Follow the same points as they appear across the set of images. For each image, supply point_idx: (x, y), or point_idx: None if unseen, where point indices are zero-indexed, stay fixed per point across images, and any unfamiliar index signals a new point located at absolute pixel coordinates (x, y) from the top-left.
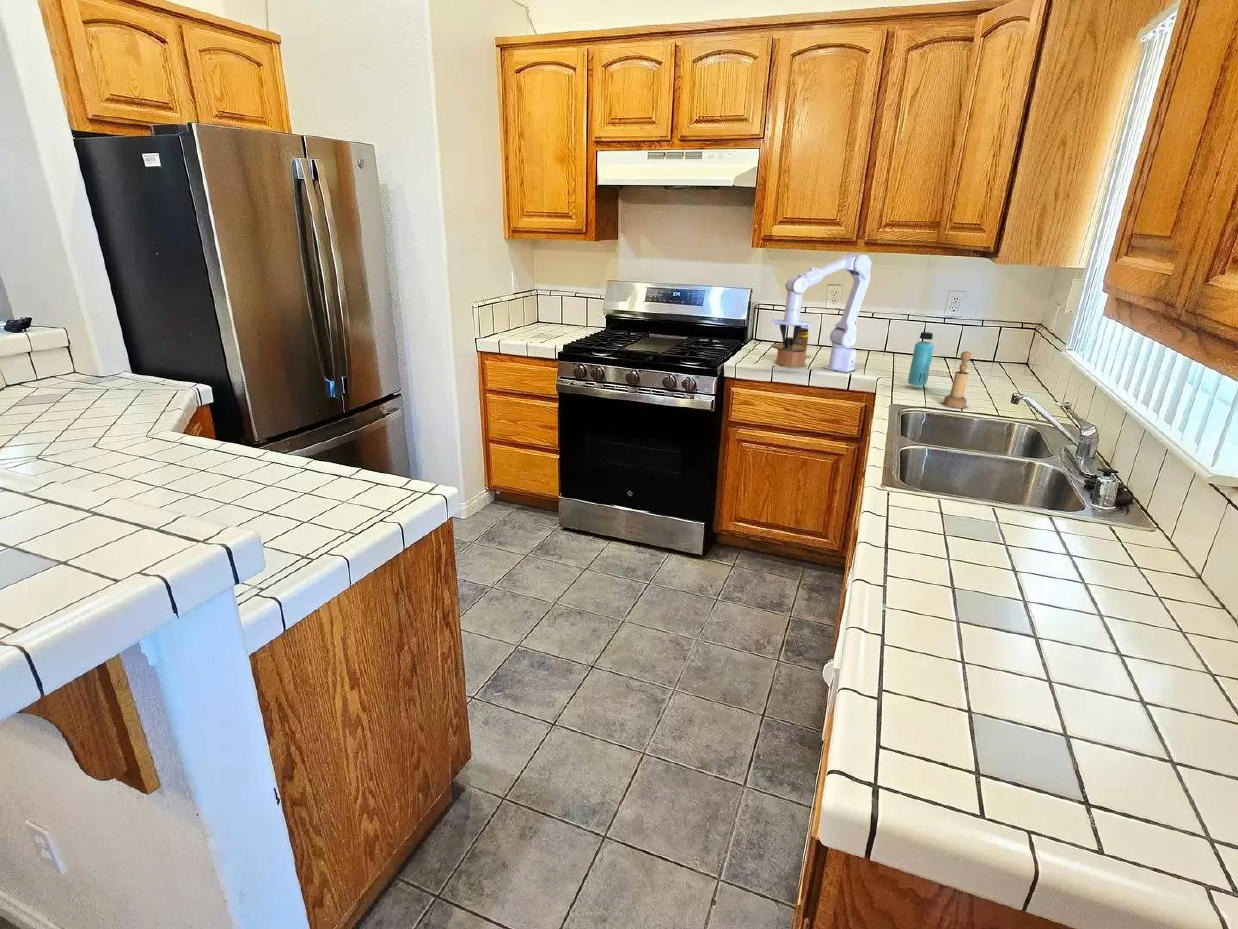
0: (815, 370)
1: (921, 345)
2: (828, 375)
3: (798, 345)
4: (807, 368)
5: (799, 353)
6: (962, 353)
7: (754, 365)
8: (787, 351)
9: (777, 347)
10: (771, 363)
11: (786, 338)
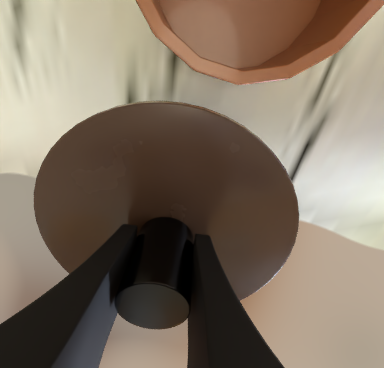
0: (336, 136)
1: None
2: (350, 214)
3: (275, 180)
4: (312, 97)
5: (297, 72)
6: None
7: (32, 101)
8: (196, 64)
9: None
10: (115, 4)
11: (128, 313)
